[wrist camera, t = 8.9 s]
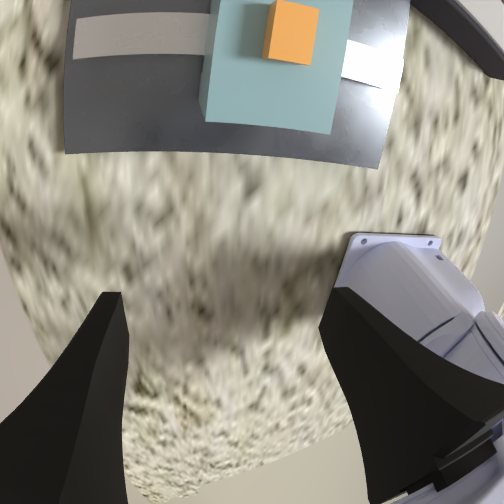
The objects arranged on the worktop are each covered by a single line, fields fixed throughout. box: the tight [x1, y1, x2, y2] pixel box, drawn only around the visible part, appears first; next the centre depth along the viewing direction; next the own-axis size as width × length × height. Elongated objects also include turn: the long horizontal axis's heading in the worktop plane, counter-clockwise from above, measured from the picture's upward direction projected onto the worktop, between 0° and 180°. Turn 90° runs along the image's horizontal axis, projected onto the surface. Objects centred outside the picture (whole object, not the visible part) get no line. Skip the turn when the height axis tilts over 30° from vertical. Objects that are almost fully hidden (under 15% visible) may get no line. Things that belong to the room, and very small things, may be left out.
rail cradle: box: [63, 0, 411, 169], centre depth 12 cm, size 18×12×2 cm, turn 82°
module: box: [198, 0, 354, 135], centre depth 10 cm, size 4×6×7 cm, turn 172°
